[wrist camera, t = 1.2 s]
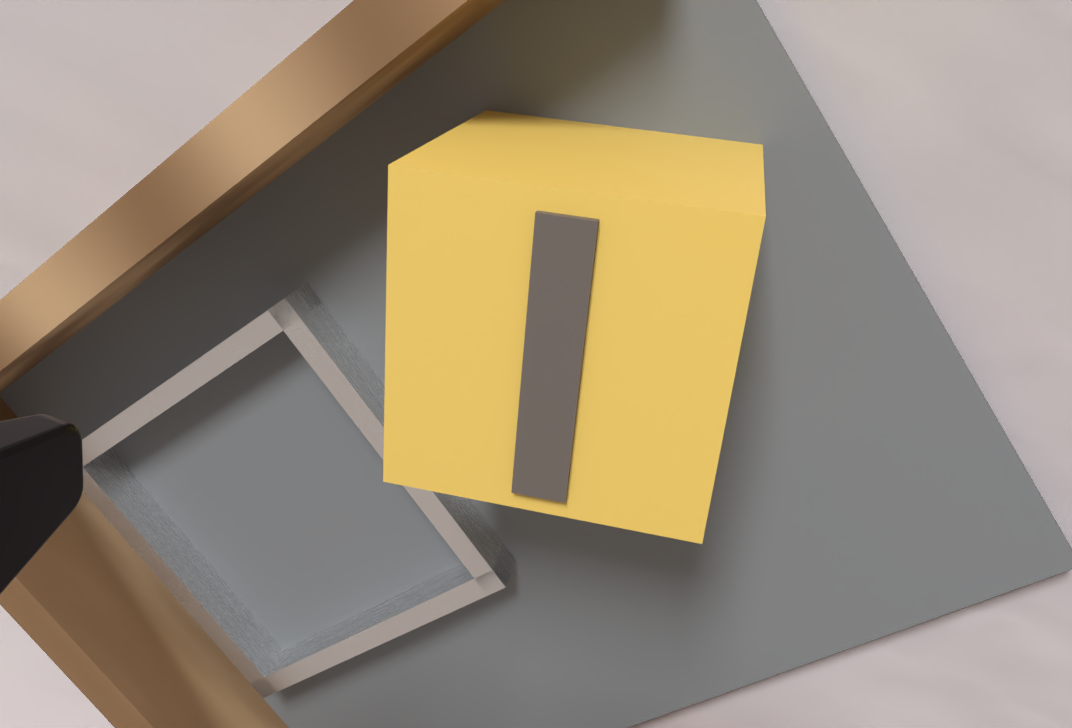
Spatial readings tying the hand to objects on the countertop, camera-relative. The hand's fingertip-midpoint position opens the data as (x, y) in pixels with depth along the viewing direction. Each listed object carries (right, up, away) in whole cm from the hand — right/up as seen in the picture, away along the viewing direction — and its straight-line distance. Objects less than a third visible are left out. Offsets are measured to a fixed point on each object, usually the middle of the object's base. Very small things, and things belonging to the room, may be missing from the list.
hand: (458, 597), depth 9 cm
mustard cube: (+2, +5, +12) cm, 13 cm away
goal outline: (-6, -1, +16) cm, 17 cm away
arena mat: (-1, 0, +15) cm, 15 cm away
